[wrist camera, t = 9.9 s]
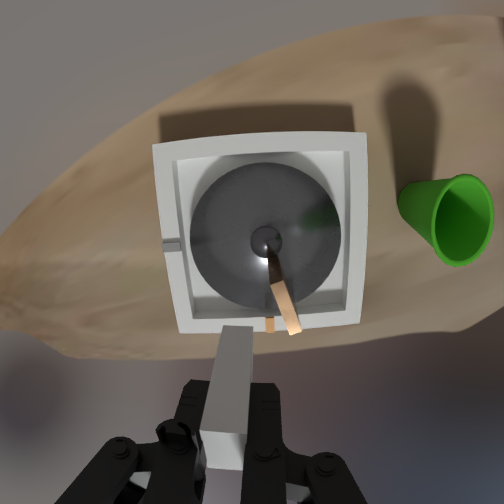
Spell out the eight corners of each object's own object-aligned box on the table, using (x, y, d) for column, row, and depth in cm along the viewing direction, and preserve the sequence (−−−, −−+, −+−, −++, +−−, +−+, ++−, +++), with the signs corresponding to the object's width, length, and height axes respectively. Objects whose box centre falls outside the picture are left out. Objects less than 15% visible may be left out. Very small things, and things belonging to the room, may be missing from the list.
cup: (370, 212, 32) (414, 235, 22) (406, 152, 30) (461, 153, 19) (417, 250, 34) (464, 282, 23) (450, 195, 31) (504, 211, 21)
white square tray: (355, 135, 29) (367, 132, 26) (351, 309, 36) (360, 324, 32) (162, 146, 30) (150, 144, 27) (185, 318, 37) (178, 335, 33)
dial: (170, 196, 30) (142, 208, 22) (309, 141, 28) (328, 135, 20) (226, 318, 35) (219, 360, 27) (352, 274, 33) (376, 307, 25)
